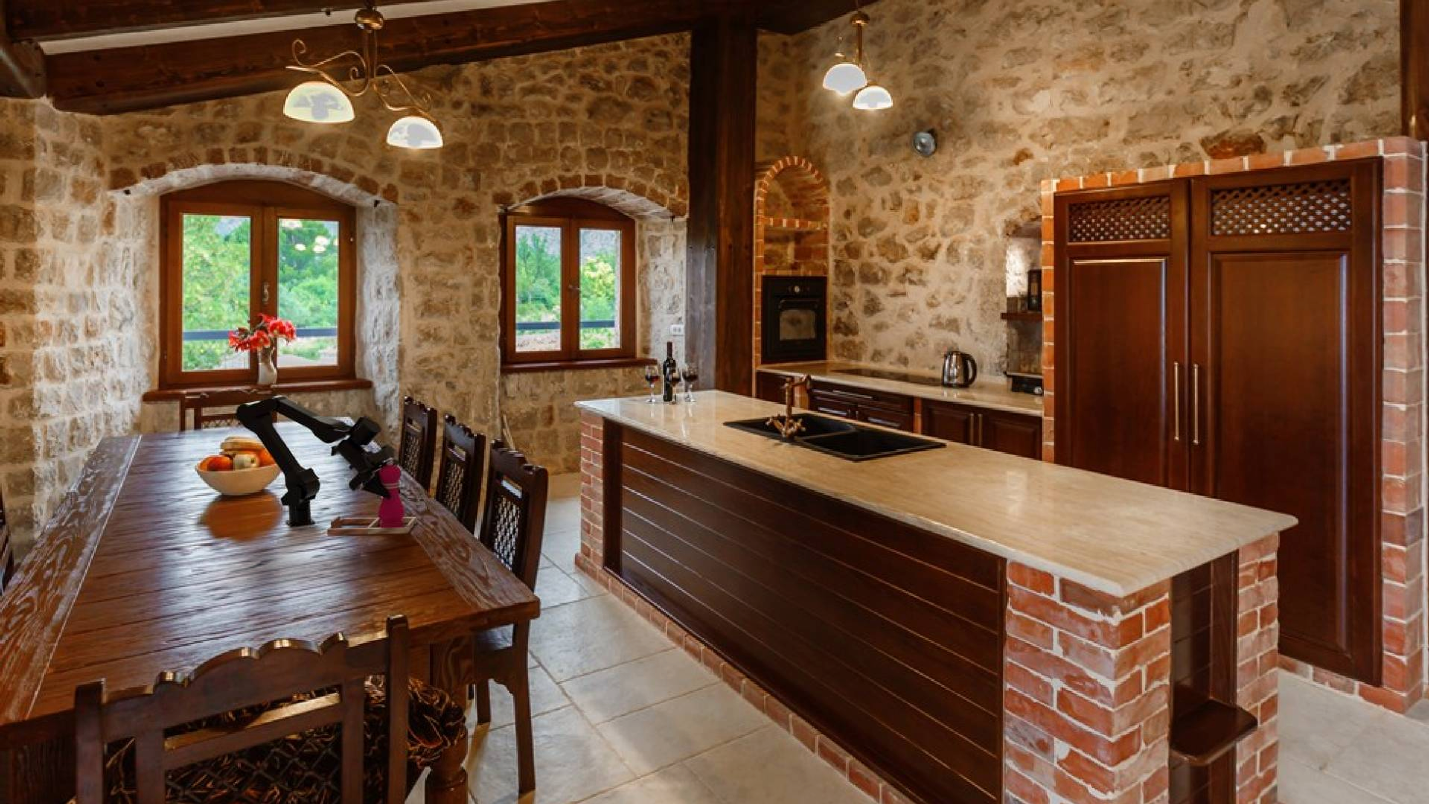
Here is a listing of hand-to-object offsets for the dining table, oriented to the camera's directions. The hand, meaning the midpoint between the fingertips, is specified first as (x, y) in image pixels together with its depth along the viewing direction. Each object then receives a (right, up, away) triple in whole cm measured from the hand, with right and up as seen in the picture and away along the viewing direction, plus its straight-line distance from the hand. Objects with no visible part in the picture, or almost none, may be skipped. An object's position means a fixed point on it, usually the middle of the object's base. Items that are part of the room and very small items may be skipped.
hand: (395, 495), depth 233 cm
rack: (-7, -9, +1) cm, 12 cm away
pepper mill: (-1, -10, +2) cm, 10 cm away
